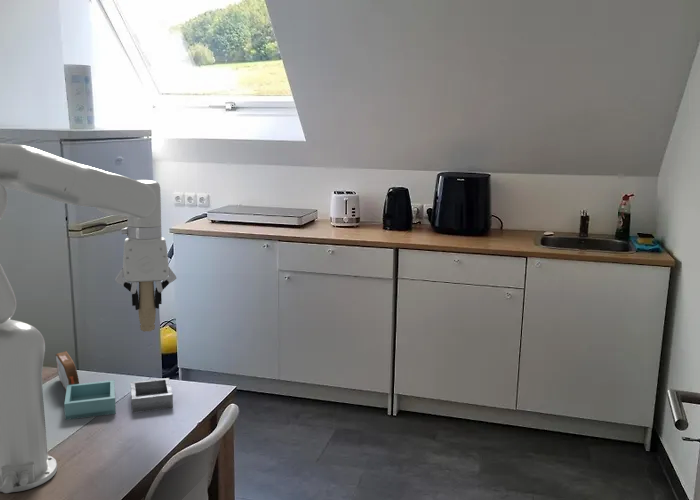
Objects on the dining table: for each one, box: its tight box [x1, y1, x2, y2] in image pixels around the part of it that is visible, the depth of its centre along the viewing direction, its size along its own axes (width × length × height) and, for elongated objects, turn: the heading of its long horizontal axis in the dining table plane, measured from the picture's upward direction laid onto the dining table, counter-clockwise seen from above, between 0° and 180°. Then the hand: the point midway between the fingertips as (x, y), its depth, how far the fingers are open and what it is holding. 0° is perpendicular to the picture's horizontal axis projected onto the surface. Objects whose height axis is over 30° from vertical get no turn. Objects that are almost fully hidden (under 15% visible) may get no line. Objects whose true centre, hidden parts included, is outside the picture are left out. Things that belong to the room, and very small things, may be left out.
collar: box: [130, 377, 174, 414], centre depth 161 cm, size 10×9×4 cm
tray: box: [64, 379, 117, 421], centre depth 157 cm, size 11×11×4 cm
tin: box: [55, 350, 80, 391], centre depth 167 cm, size 15×3×8 cm, turn 35°
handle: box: [137, 281, 157, 333], centre depth 155 cm, size 5×6×15 cm
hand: (147, 307), depth 156 cm, fingers closed on handle, 4 cm apart
